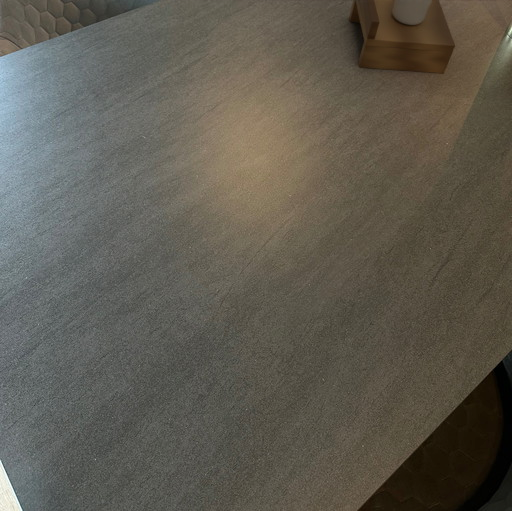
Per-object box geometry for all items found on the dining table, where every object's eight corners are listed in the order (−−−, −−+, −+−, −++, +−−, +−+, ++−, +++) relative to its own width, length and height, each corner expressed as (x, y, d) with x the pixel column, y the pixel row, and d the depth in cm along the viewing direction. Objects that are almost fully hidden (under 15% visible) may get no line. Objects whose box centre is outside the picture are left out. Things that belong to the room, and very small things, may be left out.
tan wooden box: (427, 24, 109) (443, -21, 102) (443, 73, 101) (462, 28, 94) (348, 17, 108) (360, -28, 101) (358, 67, 100) (372, 21, 93)
